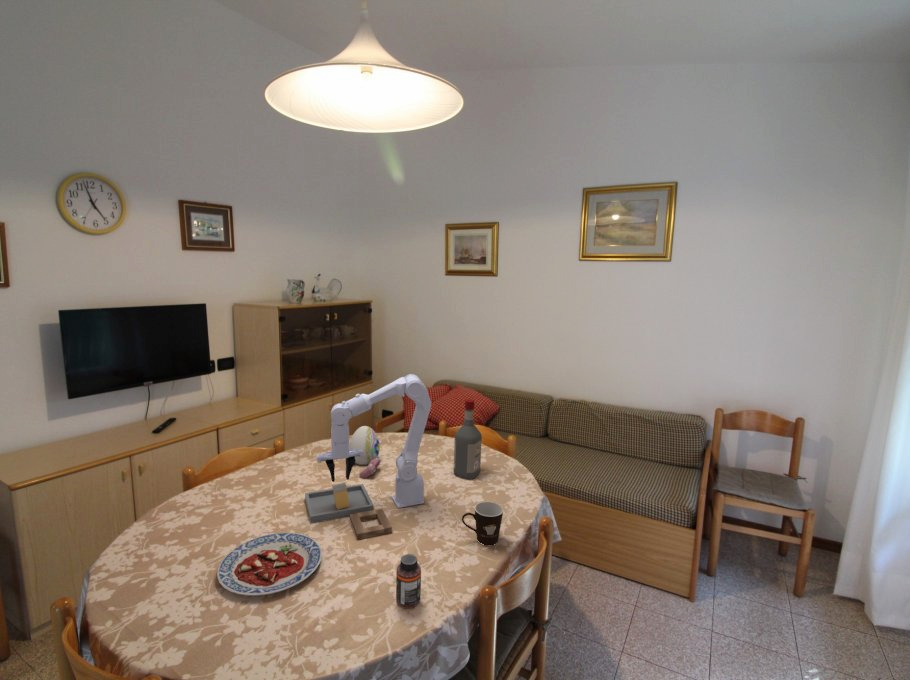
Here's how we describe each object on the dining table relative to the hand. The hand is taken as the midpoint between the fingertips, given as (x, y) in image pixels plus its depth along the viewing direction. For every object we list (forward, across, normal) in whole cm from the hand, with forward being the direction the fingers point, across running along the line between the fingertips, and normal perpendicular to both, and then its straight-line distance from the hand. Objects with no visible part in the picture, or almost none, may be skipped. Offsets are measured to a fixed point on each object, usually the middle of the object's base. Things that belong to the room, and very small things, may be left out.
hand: (340, 479), depth 153 cm
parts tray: (+10, 0, -1) cm, 10 cm away
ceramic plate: (+10, +22, +25) cm, 35 cm away
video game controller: (+10, -16, -21) cm, 28 cm away
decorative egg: (+10, -16, -33) cm, 38 cm away
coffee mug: (+10, -36, +33) cm, 50 cm away
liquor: (+10, -51, -8) cm, 52 cm away
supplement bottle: (+10, -7, +50) cm, 51 cm away
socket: (+10, -6, +15) cm, 19 cm away
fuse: (+9, 0, +1) cm, 9 cm away
